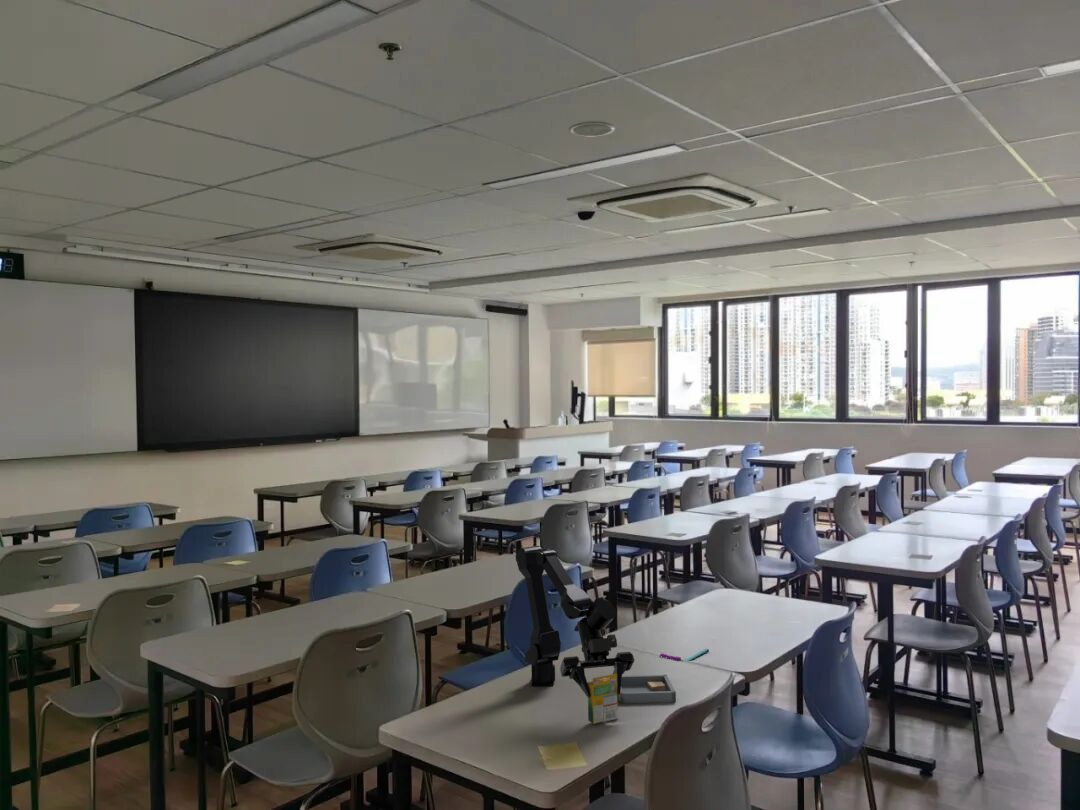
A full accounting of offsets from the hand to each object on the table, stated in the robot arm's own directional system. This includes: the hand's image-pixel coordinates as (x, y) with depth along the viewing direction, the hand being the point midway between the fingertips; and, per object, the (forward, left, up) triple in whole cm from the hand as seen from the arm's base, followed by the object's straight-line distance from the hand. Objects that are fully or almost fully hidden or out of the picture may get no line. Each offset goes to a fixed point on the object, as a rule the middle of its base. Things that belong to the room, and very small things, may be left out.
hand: (604, 695), depth 200 cm
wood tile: (+17, +23, -7) cm, 29 cm away
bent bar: (+26, +48, -8) cm, 55 cm away
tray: (+13, +19, -7) cm, 24 cm away
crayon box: (0, +1, -7) cm, 7 cm away
